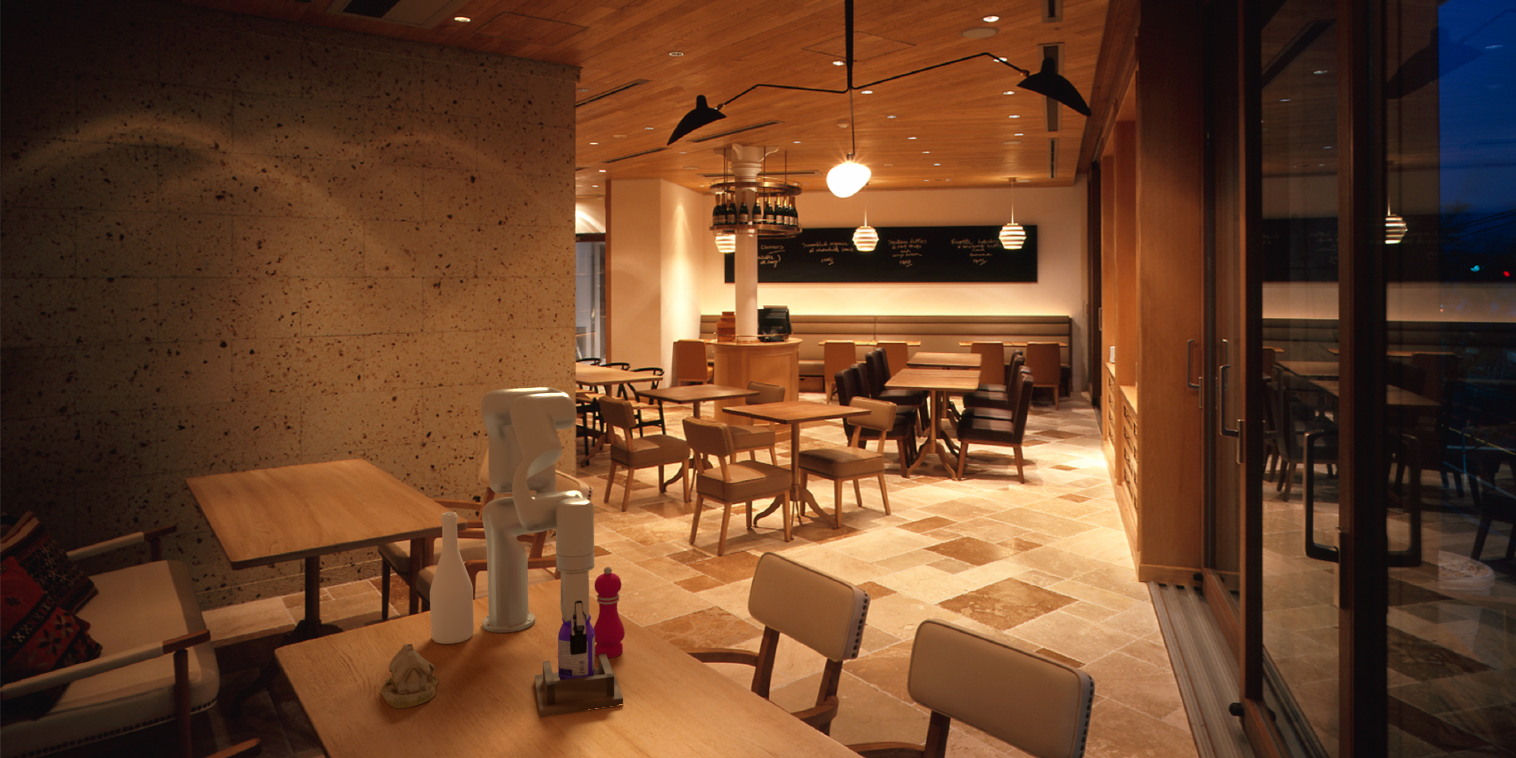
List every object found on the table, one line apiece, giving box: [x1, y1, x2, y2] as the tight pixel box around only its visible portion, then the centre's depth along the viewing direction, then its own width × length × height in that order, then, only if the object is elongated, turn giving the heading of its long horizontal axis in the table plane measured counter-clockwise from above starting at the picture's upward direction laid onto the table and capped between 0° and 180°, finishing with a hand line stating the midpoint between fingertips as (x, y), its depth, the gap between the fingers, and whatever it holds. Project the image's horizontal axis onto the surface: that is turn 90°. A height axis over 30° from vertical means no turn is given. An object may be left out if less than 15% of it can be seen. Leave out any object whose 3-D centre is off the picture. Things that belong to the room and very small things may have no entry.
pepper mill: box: [593, 566, 626, 659], centre depth 194 cm, size 7×7×20 cm
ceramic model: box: [380, 643, 439, 709], centre depth 174 cm, size 14×11×10 cm
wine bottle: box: [429, 511, 475, 645], centre depth 202 cm, size 10×10×30 cm
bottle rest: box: [534, 654, 624, 718], centre depth 174 cm, size 16×16×6 cm
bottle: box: [557, 613, 596, 680], centre depth 174 cm, size 7×6×17 cm
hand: (576, 645), depth 174 cm, fingers closed on bottle, 6 cm apart
